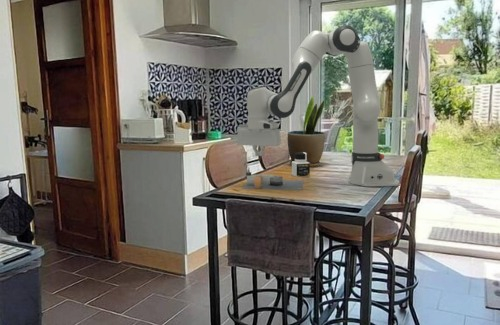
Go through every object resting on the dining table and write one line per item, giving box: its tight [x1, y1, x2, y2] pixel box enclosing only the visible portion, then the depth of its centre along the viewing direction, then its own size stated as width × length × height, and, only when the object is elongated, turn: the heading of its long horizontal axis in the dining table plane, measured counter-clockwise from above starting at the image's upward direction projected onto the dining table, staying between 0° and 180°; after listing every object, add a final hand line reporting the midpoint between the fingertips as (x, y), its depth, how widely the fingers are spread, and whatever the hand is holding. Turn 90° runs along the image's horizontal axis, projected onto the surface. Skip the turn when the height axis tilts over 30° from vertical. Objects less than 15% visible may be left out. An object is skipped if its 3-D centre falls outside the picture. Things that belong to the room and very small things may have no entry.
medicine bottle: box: [291, 152, 311, 178], centre depth 216 cm, size 7×7×12 cm
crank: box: [245, 171, 284, 185], centre depth 192 cm, size 16×6×5 cm, turn 85°
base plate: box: [241, 176, 304, 191], centre depth 192 cm, size 26×20×6 cm
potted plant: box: [287, 95, 326, 168], centre depth 245 cm, size 21×22×40 cm
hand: (259, 155), depth 188 cm, fingers closed
